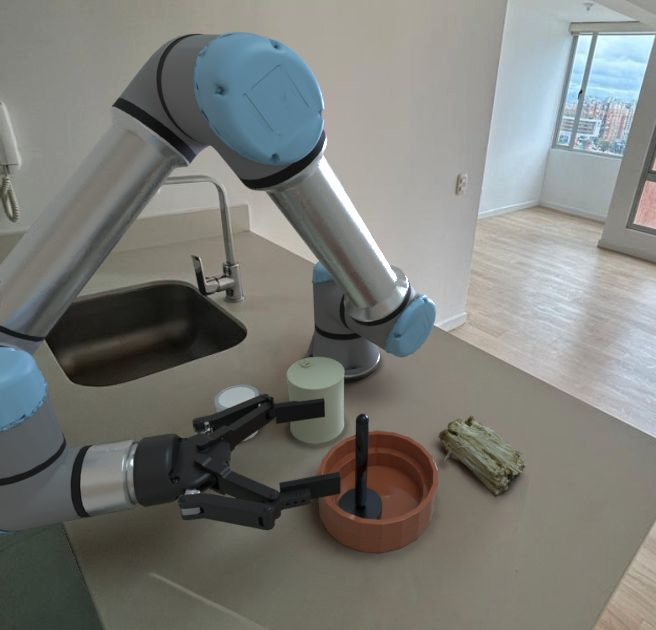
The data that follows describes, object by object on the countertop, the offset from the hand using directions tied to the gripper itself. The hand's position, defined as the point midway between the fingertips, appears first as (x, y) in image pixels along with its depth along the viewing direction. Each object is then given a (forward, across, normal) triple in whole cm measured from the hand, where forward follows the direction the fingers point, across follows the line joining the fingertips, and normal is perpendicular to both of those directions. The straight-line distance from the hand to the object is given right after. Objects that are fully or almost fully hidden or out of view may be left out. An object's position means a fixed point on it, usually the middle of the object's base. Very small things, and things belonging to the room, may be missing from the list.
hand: (331, 441), depth 56 cm
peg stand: (+4, +2, -12) cm, 13 cm away
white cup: (-12, -20, -13) cm, 27 cm away
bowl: (+6, 0, -13) cm, 14 cm away
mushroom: (+24, -4, -13) cm, 28 cm away
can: (0, -18, -13) cm, 22 cm away
